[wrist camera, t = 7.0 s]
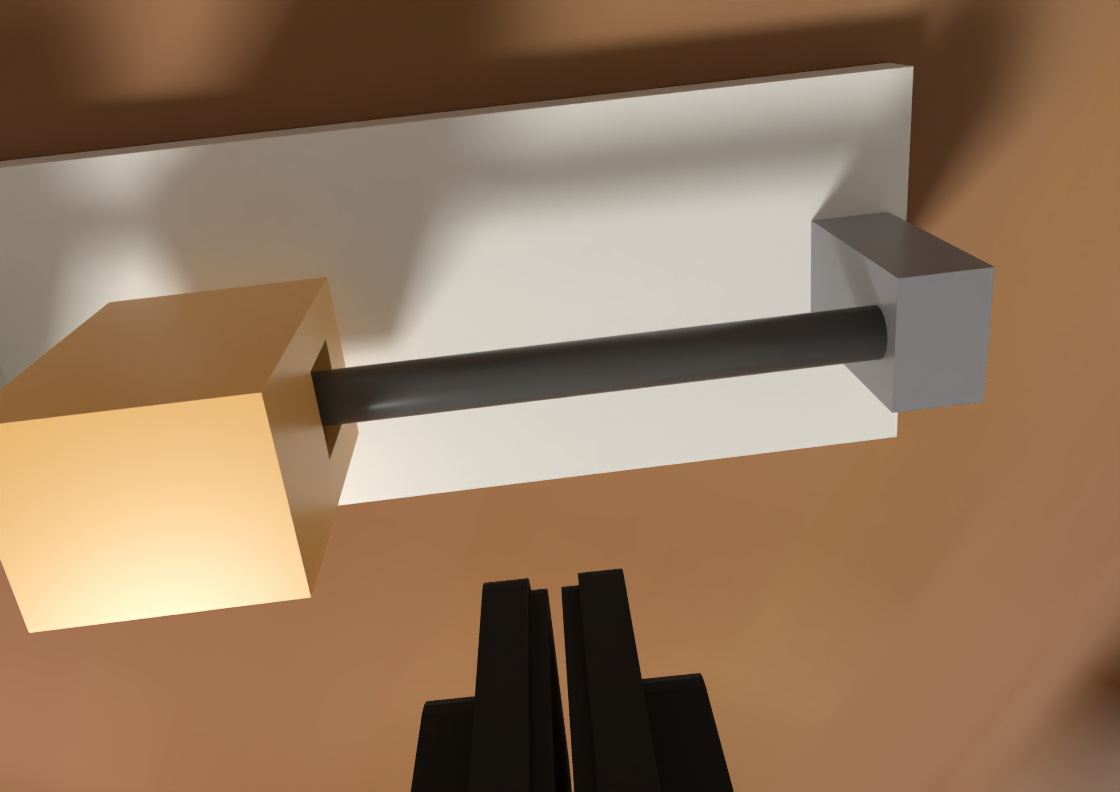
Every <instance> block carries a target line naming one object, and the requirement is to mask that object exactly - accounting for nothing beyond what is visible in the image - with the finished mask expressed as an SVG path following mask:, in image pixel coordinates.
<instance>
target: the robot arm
mask: <svg viewBox="0 0 1120 792" xmlns="http://www.w3.org/2000/svg"><path fill="white" fill-rule="evenodd" d="M578 580H579V585H576V586H567V587H561V590H562V606H563V622H564V637H565V653H566V669H567V684H568V700H569V716H570V731H571V747H572V763H573V778H574V792H734V791H733V788H732V784H731V780H730V776H729V772H728V769H727V765H726V761H725V757H724V754H723V750H722V746H721V742H720V739H719V735H718V731H717V727H716V724H715V720H714V716H713V712H712V708H711V705H710V701H709V697H708V693H707V690H706V686H705V683H704V680H703V677H702V675H701V673H697V674H687V675H677V676H667V677H658V678H648V679H642V678H641V672H640V666H639V660H638V655H637V649H636V643H635V637H634V632H633V626H632V620H631V614H630V609H629V603H628V597H627V591H626V586H625V580H624V574H623V570H622V569H613V570H603V571H593V572H584V573H578ZM411 792H572V789H571V777H570V767H569V758H568V750H567V741H566V733H565V725H564V717H563V709H562V701H561V693H560V685H559V677H558V669H557V661H556V653H555V645H554V637H553V628H552V620H551V612H550V604H549V596H548V590H547V589H538V590H531V588H530V582H529V579H528V578H526V579H517V580H507V581H497V582H488V583H484V584H483V590H482V604H481V618H480V632H479V646H478V661H477V675H476V689H475V696H474V697H464V698H455V699H445V700H435V701H427V702H426V703H425V705H424V708H423V712H422V717H421V724H420V731H419V738H418V745H417V752H416V759H415V766H414V773H413V780H412V787H411Z"/></svg>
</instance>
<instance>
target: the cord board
mask: <svg viewBox="0 0 1120 792" xmlns="http://www.w3.org/2000/svg"><path fill="white" fill-rule="evenodd" d="M912 88H913V66H908V65H901V64H894V63H882V64H873V65H864V66H855V67H846V68H837V69H828V70H819V71H810V72H801V73H792V74H783V75H774V76H765V77H756V78H747V79H738V80H729V81H720V82H711V83H701V84H692V85H683V86H674V87H665V88H656V89H647V90H638V91H629V92H620V93H611V94H602V95H593V96H584V97H575V98H566V99H557V100H548V101H539V102H530V103H521V104H512V105H503V106H494V107H485V108H476V109H467V110H458V111H449V112H440V113H431V114H422V115H413V116H404V117H395V118H386V119H377V120H368V121H359V122H350V123H341V124H332V125H323V126H314V127H305V128H296V129H287V130H278V131H269V132H260V133H251V134H242V135H233V136H223V137H214V138H205V139H196V140H187V141H178V142H169V143H160V144H151V145H142V146H133V147H124V148H115V149H106V150H97V151H88V152H79V153H70V154H61V155H52V156H43V157H34V158H25V159H16V160H7V161H0V389H1V388H3V387H4V386H5V385H6V384H8V383H9V382H10V381H11V380H13V379H14V378H15V377H16V376H18V375H19V374H20V373H21V372H23V371H24V370H25V369H26V368H28V367H29V366H30V365H31V364H33V363H34V362H35V361H36V360H38V359H39V358H40V357H41V356H43V355H44V354H45V353H46V352H48V351H49V350H50V349H51V348H53V347H54V346H55V345H56V344H58V343H59V342H60V341H61V340H63V339H64V338H65V337H66V336H68V335H69V334H70V333H71V332H73V331H74V330H75V329H76V328H78V327H79V326H80V325H81V324H83V323H84V322H85V321H86V320H88V319H89V318H90V317H91V316H93V315H94V314H95V313H96V312H98V311H99V310H100V309H101V308H103V307H104V306H105V305H106V304H108V303H109V302H115V301H124V300H132V299H141V298H149V297H158V296H167V295H175V294H184V293H193V292H201V291H210V290H219V289H227V288H236V287H245V286H253V285H262V284H270V283H279V282H288V281H296V280H305V279H314V278H322V277H327V278H328V283H329V288H330V292H331V297H332V302H333V307H334V312H335V317H336V322H337V327H338V332H339V337H340V342H341V347H342V352H343V357H344V362H345V367H346V368H339V369H331V370H322V371H314V372H311V377H312V381H313V386H314V391H315V395H316V400H317V404H318V409H319V414H320V418H321V423H322V427H325V426H333V425H341V424H350V423H357V426H358V431H359V434H358V438H357V441H356V444H355V448H354V451H353V455H352V458H351V462H350V465H349V468H348V472H347V475H346V479H345V482H344V486H343V489H342V493H341V496H340V499H339V503H338V505H346V504H354V503H362V502H370V501H378V500H386V499H394V498H403V497H411V496H419V495H427V494H435V493H443V492H451V491H459V490H468V489H476V488H484V487H492V486H500V485H508V484H516V483H524V482H533V481H541V480H549V479H557V478H565V477H573V476H581V475H589V474H598V473H606V472H614V471H622V470H630V469H638V468H646V467H654V466H663V465H671V464H679V463H687V462H695V461H703V460H711V459H719V458H728V457H736V456H744V455H752V454H760V453H768V452H776V451H784V450H793V449H801V448H809V447H817V446H825V445H833V444H841V443H849V442H857V441H866V440H874V439H882V438H890V437H897V415H898V412H905V411H913V410H921V409H929V408H937V407H945V406H954V405H962V404H970V403H978V402H983V399H984V387H985V375H986V363H987V352H988V340H989V328H990V316H991V304H992V292H993V281H994V269H995V267H993V266H992V265H990V264H988V263H986V262H984V261H982V260H980V259H978V258H976V257H974V256H972V255H970V254H968V253H966V252H965V251H963V250H961V249H959V248H957V247H955V246H953V245H951V244H949V243H947V242H945V241H943V240H941V239H939V238H937V237H936V236H934V235H932V234H930V233H928V232H926V231H924V230H922V229H920V228H918V227H916V226H914V225H912V224H910V223H909V222H907V221H906V219H907V197H908V175H909V153H910V131H911V109H912Z"/></svg>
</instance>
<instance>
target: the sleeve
mask: <svg viewBox="0 0 1120 792" xmlns="http://www.w3.org/2000/svg"><path fill="white" fill-rule="evenodd" d="M339 368H346V367H345V362H344V357H343V352H342V347H341V342H340V337H339V332H338V327H337V322H336V317H335V312H334V307H333V302H332V297H331V292H330V288H329V283H328V278H327V277H322V278H314V279H305V280H296V281H288V282H279V283H270V284H262V285H253V286H245V287H236V288H227V289H219V290H210V291H201V292H193V293H184V294H175V295H167V296H158V297H149V298H141V299H132V300H124V301H115V302H109V303H108V304H106V305H105V306H104V307H103V308H101V309H100V310H99V311H98V312H96V313H95V314H94V315H93V316H91V317H90V318H89V319H88V320H86V321H85V322H84V323H83V324H81V325H80V326H79V327H78V328H76V329H75V330H74V331H73V332H71V333H70V334H69V335H68V336H66V337H65V338H64V339H63V340H61V341H60V342H59V343H58V344H56V345H55V346H54V347H53V348H51V349H50V350H49V351H48V352H46V353H45V354H44V355H43V356H41V357H40V358H39V359H38V360H36V361H35V362H34V363H33V364H31V365H30V366H29V367H28V368H26V369H25V370H24V371H23V372H21V373H20V374H19V375H18V376H16V377H15V378H14V379H13V380H11V381H10V382H9V383H8V384H6V385H5V386H4V387H3V388H1V389H0V559H1V562H2V565H3V567H4V570H5V572H6V575H7V577H8V580H9V582H10V585H11V588H12V590H13V593H14V595H15V598H16V600H17V603H18V606H19V608H20V611H21V613H22V616H23V618H24V621H25V624H26V626H27V629H28V631H29V633H31V632H39V631H47V630H55V629H63V628H71V627H79V626H87V625H95V624H103V623H111V622H119V621H127V620H135V619H143V618H151V617H159V616H166V615H174V614H182V613H190V612H198V611H206V610H214V609H222V608H230V607H238V606H246V605H254V604H262V603H270V602H278V601H286V600H294V599H301V598H309V597H311V596H312V592H313V589H314V585H315V582H316V578H317V575H318V572H319V568H320V565H321V561H322V558H323V554H324V551H325V548H326V544H327V541H328V537H329V534H330V530H331V527H332V523H333V520H334V517H335V513H336V510H337V506H338V503H339V499H340V496H341V493H342V489H343V486H344V482H345V479H346V475H347V472H348V468H349V465H350V462H351V458H352V455H353V451H354V448H355V444H356V441H357V438H358V434H359V431H358V426H357V423H350V424H341V425H333V426H325V427H322V423H321V418H320V414H319V409H318V404H317V400H316V395H315V391H314V386H313V381H312V377H311V372H314V371H322V370H331V369H339Z"/></svg>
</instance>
